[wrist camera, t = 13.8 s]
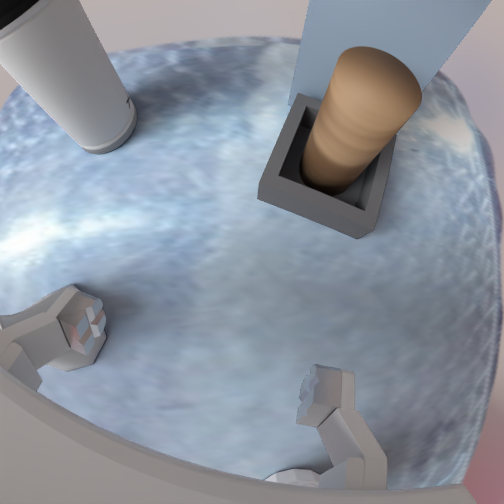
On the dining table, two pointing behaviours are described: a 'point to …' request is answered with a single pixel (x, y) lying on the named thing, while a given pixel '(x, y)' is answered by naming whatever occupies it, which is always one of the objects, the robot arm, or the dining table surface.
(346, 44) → the awning
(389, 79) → the peg
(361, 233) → the socket
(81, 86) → the travel mug
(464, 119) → the dining table surface
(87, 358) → the flask
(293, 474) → the white cup
